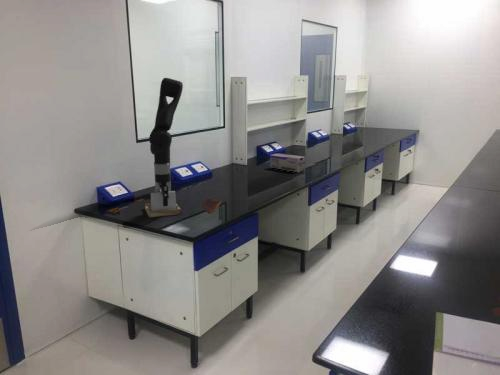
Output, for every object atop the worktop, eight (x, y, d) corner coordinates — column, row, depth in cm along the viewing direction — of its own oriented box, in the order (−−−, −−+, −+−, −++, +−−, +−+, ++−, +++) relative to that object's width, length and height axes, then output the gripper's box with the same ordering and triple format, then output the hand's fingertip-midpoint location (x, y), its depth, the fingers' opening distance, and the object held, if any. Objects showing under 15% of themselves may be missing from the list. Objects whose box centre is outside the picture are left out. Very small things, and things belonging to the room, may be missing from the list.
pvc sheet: (151, 214, 213) (150, 193, 210) (175, 211, 217) (174, 190, 214) (152, 215, 211) (151, 194, 208) (176, 212, 215) (175, 191, 213)
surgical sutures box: (269, 168, 329) (270, 155, 326) (277, 166, 337) (278, 153, 335) (297, 173, 314) (297, 158, 311) (304, 170, 322) (305, 156, 319)
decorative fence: (105, 213, 221) (119, 216, 216) (104, 209, 220) (119, 212, 216) (138, 201, 242) (152, 203, 238) (138, 198, 242) (152, 200, 237)
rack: (145, 211, 222) (144, 204, 221) (175, 208, 228) (175, 201, 227) (149, 220, 208) (148, 212, 207) (181, 216, 214) (181, 209, 213)
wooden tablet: (213, 212, 218) (194, 209, 219) (212, 216, 218) (193, 213, 219) (223, 198, 243) (206, 196, 244) (223, 202, 244) (206, 199, 245)
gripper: (172, 174, 204) (174, 206, 208) (167, 168, 217) (168, 199, 221) (157, 175, 201) (158, 208, 205) (152, 170, 214) (154, 200, 218)
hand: (164, 203), depth 213 cm, fingers open, 8 cm apart
